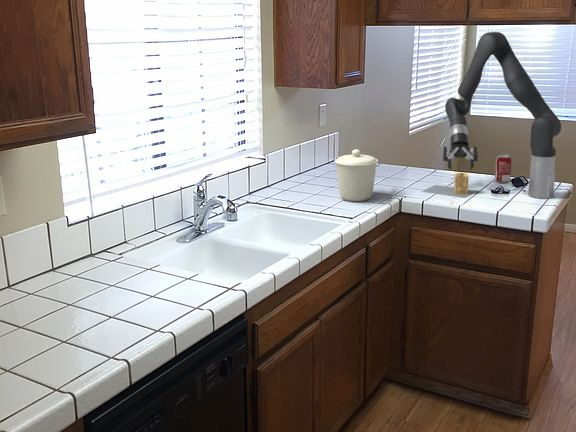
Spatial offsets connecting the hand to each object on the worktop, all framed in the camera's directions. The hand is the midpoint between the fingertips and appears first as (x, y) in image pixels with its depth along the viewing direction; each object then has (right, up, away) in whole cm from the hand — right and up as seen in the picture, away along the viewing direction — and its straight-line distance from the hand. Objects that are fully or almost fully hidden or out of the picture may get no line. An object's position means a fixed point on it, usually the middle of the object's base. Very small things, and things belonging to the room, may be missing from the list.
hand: (460, 168), depth 270 cm
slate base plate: (-4, -11, +2) cm, 12 cm away
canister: (-45, -13, 0) cm, 46 cm away
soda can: (+25, -5, +21) cm, 33 cm away
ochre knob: (0, -10, -1) cm, 10 cm away
